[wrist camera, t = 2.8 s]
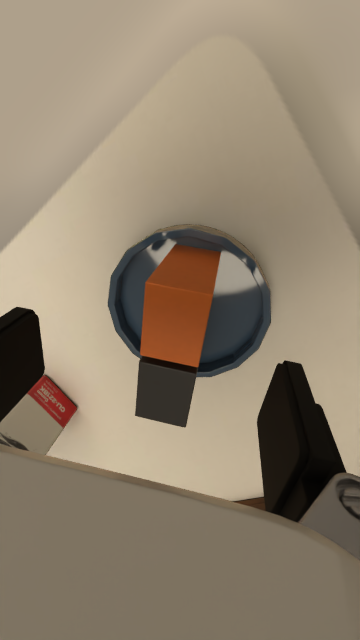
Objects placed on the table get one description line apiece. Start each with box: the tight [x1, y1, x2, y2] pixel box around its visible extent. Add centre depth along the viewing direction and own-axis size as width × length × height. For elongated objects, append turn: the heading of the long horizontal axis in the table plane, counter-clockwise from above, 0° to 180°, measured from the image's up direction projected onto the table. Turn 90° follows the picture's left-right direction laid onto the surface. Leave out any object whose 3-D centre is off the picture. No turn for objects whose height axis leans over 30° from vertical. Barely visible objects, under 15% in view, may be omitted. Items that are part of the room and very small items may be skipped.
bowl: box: [108, 224, 271, 377], centre depth 20 cm, size 11×11×2 cm
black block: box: [135, 356, 198, 427], centre depth 18 cm, size 3×4×7 cm
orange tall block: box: [140, 244, 221, 367], centre depth 16 cm, size 3×4×7 cm
